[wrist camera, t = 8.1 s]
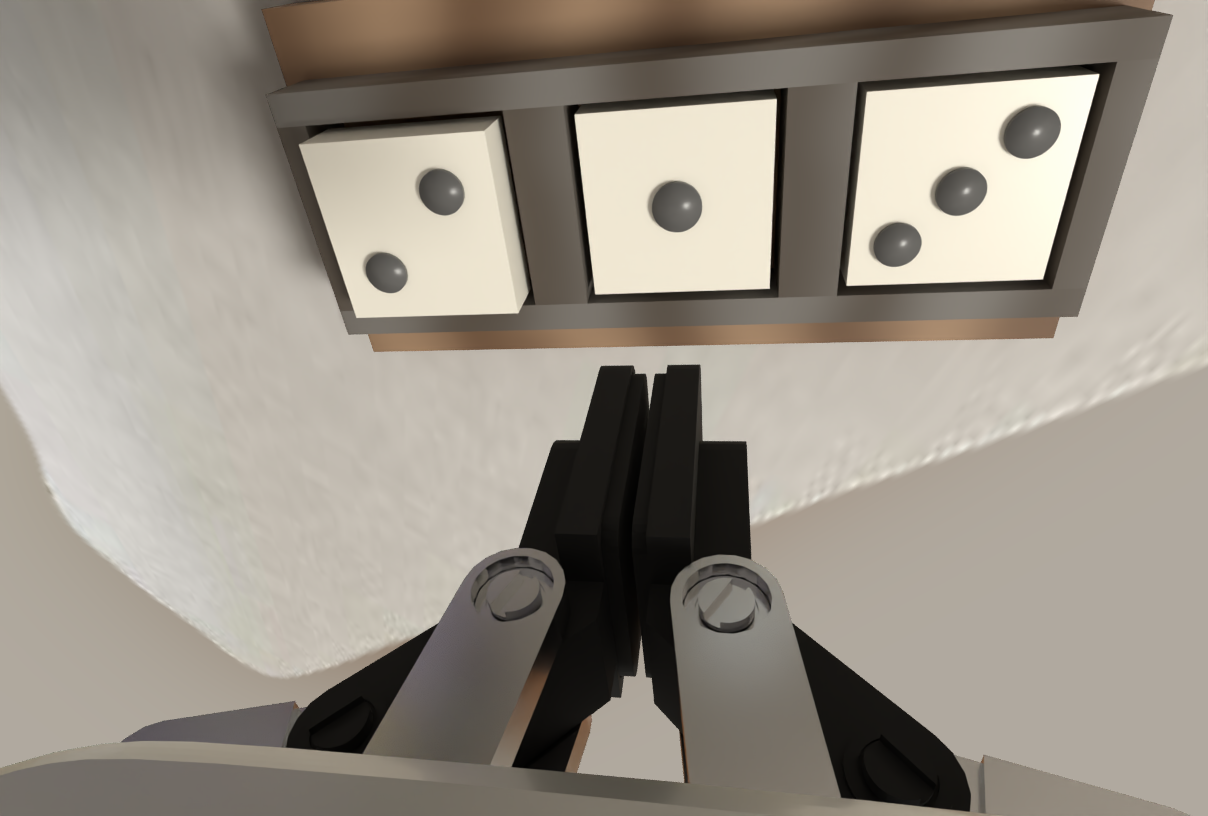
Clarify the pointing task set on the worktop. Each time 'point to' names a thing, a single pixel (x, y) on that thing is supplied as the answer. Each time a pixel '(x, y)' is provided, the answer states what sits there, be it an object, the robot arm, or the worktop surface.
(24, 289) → the worktop surface
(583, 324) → the button panel
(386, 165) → the two-dot button
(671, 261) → the one-dot button
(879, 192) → the three-dot button
